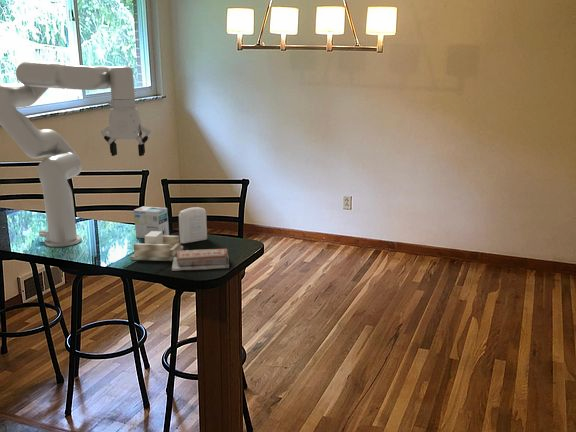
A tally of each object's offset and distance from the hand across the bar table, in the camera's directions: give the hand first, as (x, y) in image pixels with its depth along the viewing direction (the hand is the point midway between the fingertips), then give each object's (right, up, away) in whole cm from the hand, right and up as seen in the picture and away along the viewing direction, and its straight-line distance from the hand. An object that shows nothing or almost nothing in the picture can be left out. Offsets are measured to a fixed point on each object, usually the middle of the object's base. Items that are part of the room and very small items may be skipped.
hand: (127, 155), depth 203 cm
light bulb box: (+4, -28, +20) cm, 35 cm away
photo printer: (+20, -30, +14) cm, 39 cm away
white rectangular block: (+9, -32, -1) cm, 34 cm away
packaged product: (+26, -37, -11) cm, 47 cm away
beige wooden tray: (+10, -33, -1) cm, 35 cm away
